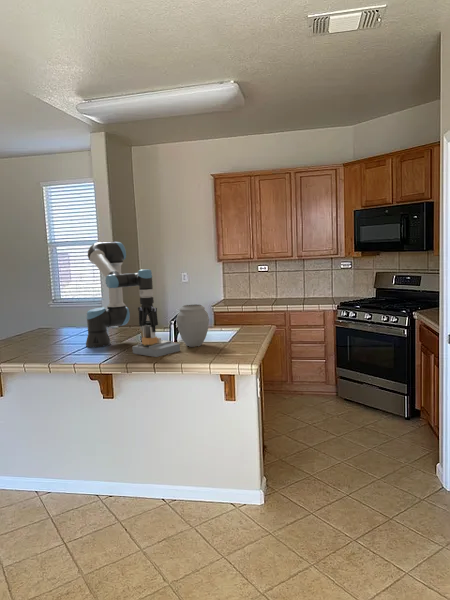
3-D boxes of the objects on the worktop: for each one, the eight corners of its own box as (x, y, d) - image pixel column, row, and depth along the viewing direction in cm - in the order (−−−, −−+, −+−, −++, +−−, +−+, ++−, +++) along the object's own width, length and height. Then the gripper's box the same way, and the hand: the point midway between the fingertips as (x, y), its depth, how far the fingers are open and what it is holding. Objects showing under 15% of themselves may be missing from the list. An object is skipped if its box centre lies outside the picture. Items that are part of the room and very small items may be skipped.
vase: (172, 348, 271) (169, 307, 269) (186, 342, 289) (184, 303, 287) (202, 349, 264) (200, 307, 262) (215, 343, 282) (213, 303, 280)
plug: (150, 343, 267) (148, 324, 266) (157, 344, 263) (155, 325, 262) (142, 345, 262) (140, 326, 261) (149, 346, 258) (147, 327, 257)
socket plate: (132, 353, 264) (132, 344, 263) (156, 347, 278) (155, 339, 277) (156, 357, 251) (155, 348, 250) (179, 350, 265) (179, 342, 264)
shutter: (150, 343, 269) (150, 337, 268) (160, 341, 275) (160, 334, 274) (160, 344, 263) (159, 338, 263) (170, 342, 270) (169, 336, 269)
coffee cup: (153, 347, 276) (151, 323, 275) (138, 348, 278) (136, 323, 277) (159, 344, 286) (157, 320, 284) (144, 344, 288) (142, 320, 286)
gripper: (130, 297, 263) (133, 337, 265) (152, 297, 251) (155, 339, 253) (140, 295, 269) (143, 334, 271) (163, 296, 257) (165, 337, 259)
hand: (149, 337), depth 262 cm, fingers closed on plug, 6 cm apart
